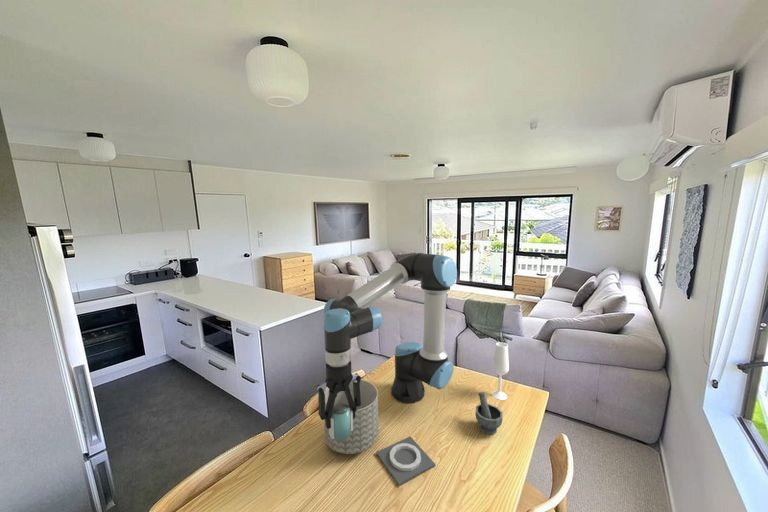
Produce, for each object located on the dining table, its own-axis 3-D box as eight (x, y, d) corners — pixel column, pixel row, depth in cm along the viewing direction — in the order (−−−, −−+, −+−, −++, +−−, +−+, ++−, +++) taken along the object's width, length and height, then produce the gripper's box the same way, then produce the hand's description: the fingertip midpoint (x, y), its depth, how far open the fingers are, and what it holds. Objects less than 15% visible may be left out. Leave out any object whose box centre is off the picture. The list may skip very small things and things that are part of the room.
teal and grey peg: (329, 431, 91) (328, 405, 90) (346, 424, 94) (345, 399, 93) (336, 442, 86) (335, 416, 85) (353, 435, 89) (352, 409, 88)
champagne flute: (508, 393, 132) (511, 343, 129) (505, 401, 127) (508, 349, 124) (493, 389, 136) (495, 340, 133) (489, 396, 130) (492, 345, 127)
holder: (376, 454, 99) (376, 449, 99) (410, 438, 106) (410, 433, 106) (399, 486, 87) (399, 481, 87) (435, 466, 94) (435, 461, 94)
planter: (386, 429, 111) (385, 384, 108) (364, 469, 93) (364, 417, 91) (341, 417, 118) (340, 375, 115) (314, 452, 100) (312, 403, 98)
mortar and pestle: (507, 435, 107) (509, 405, 106) (484, 440, 105) (486, 409, 103) (489, 415, 118) (490, 387, 117) (468, 419, 116) (469, 391, 114)
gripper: (311, 376, 79) (315, 453, 82) (371, 358, 88) (373, 428, 92) (304, 364, 86) (307, 435, 89) (361, 349, 95) (362, 414, 98)
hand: (341, 431), depth 90 cm, fingers closed on teal and grey peg, 5 cm apart
